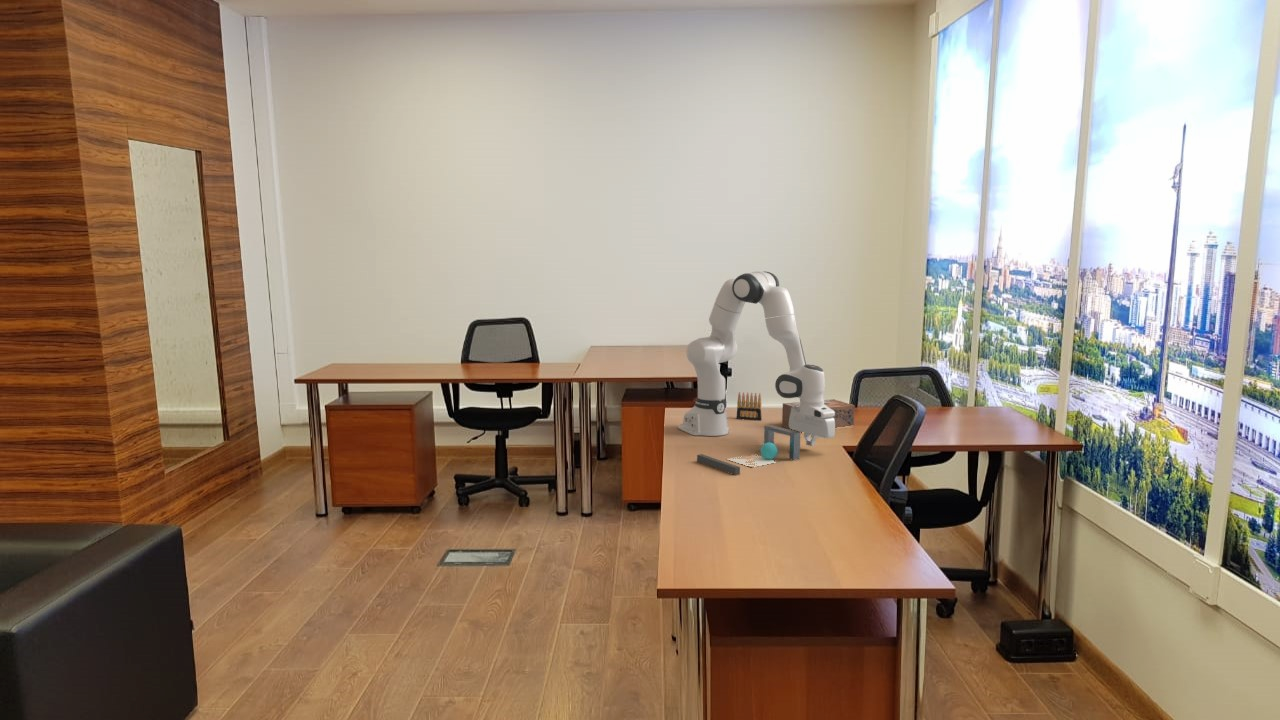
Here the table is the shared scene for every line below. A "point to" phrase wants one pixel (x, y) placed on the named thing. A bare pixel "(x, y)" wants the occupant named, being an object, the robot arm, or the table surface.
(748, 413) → the ammunition clip
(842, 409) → the tissue box cover
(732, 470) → the stopper
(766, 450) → the ball
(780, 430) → the bridge
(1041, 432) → the table surface
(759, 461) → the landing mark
